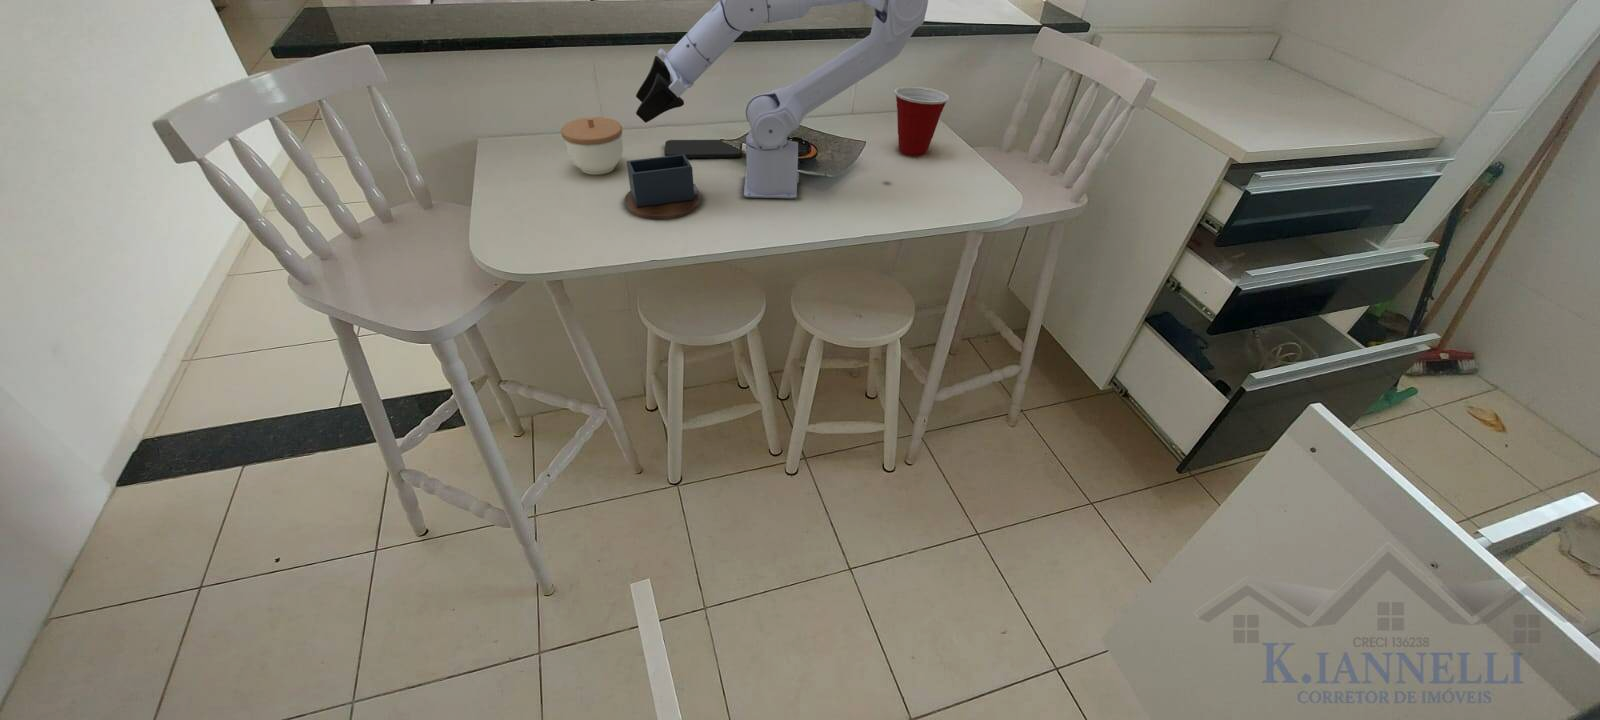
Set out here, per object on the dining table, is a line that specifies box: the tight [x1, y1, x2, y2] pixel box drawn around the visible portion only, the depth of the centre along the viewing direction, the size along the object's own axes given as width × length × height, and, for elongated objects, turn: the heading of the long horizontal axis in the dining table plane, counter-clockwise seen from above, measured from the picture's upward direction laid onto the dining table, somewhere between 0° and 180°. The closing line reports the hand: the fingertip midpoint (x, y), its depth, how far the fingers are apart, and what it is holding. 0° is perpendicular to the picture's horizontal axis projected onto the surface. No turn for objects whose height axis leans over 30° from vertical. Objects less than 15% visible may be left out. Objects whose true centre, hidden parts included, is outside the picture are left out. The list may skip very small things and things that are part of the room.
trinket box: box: [560, 116, 624, 176], centre depth 123 cm, size 11×11×9 cm
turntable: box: [624, 190, 701, 220], centre depth 116 cm, size 13×13×1 cm
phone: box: [664, 139, 742, 159], centre depth 133 cm, size 7×1×15 cm
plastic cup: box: [894, 86, 950, 158], centre depth 133 cm, size 11×11×12 cm
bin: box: [626, 154, 700, 207], centre depth 114 cm, size 11×5×6 cm, turn 111°
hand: (640, 108), depth 108 cm, fingers open, 7 cm apart
